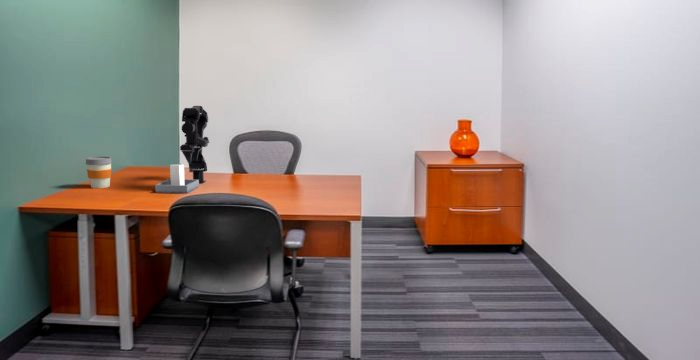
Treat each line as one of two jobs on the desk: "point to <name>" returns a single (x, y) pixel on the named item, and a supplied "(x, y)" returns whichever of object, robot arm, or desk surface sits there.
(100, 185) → the reusable coffee cup
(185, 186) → the tray
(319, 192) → the desk surface
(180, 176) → the cream block
